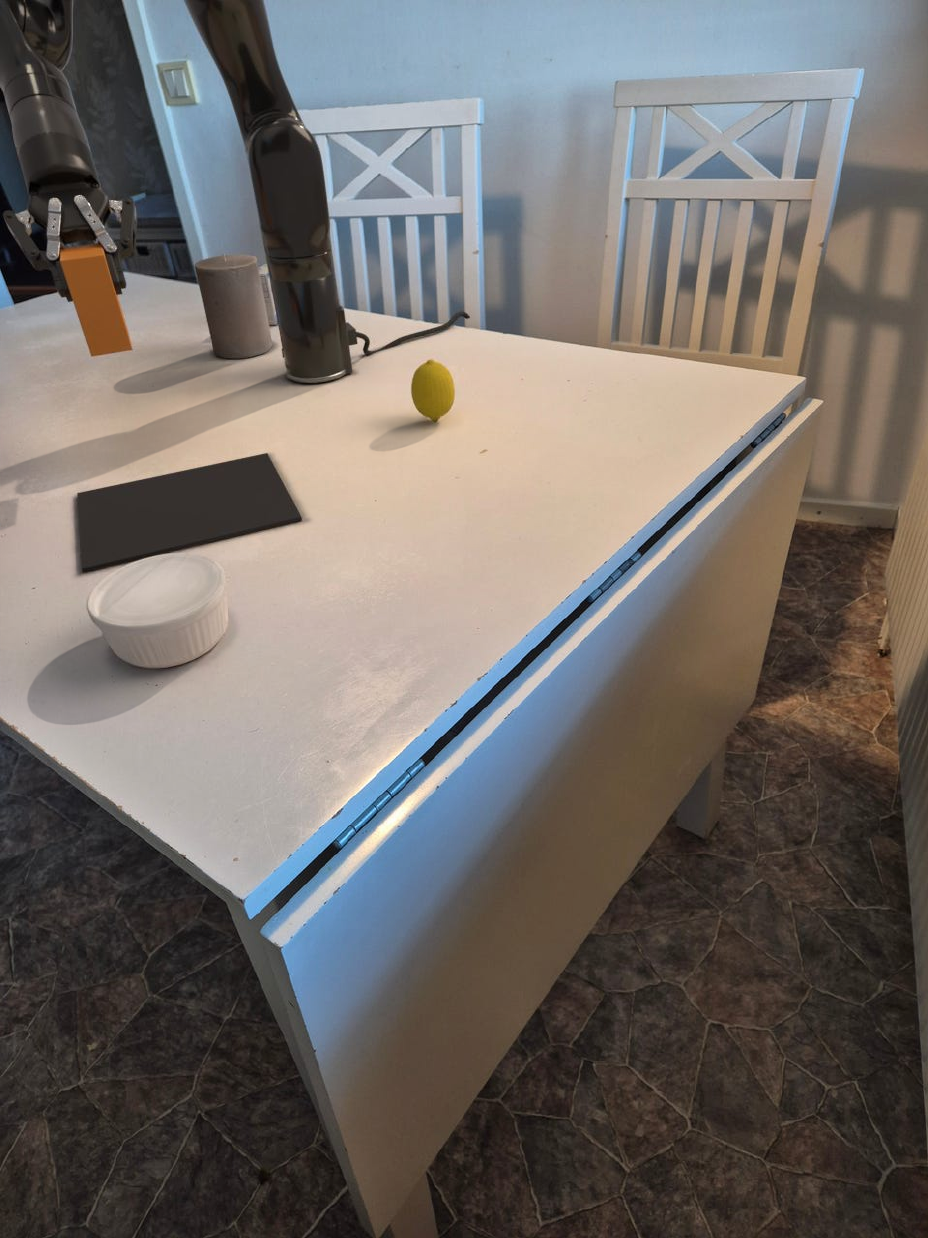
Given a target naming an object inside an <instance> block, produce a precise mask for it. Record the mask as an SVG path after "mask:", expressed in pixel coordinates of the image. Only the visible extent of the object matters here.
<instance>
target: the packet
mask: <svg viewBox="0 0 928 1238" xmlns="http://www.w3.org/2000/svg"><path fill="white" fill-rule="evenodd" d="M60 263H61V266H62V269H63V272H64V275H65V278H66V281H67V284H68V287H69V290H70V293H71V296H72V300H73V301H72V302H73V306H74V309H75V311H76V315H77V318H78V320H79V324H80V327H81V329H82V332H83V336H84V339H85V342H86V345H87V348H88V351H89V354H90V357H92V358H93V357H99V356H105V355H110V354H115V353H117V354H118V353H123V352H128V351H132V350H133V346H132V341H131V337H130V333H129V329H128V325H127V323H126V320H125V319H126V318H125V316H124V313H123V309H122V305H121V302H120V299H119V295H116V292H115V289H114V285H113V282H112V278H111V275H110V271H109V268H108V264H107V261H106V257H105V253H104V249H103V247H102V245H101V244H100V245H99V244H97V243H96V244H95V243H90V244H81V245H75V246H67V247H66V248H64V249H62V250H60Z"/></svg>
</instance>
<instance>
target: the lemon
mask: <svg viewBox="0 0 928 1238" xmlns="http://www.w3.org/2000/svg"><path fill="white" fill-rule="evenodd" d="M412 375H413V376H412V378H411V385H410V393H411V400H412V403H413V405H414V407H415V409H416V410H417V411H418V413H419V414H421V415H422V416H424V417H426V418H429V419H430V420H432V422H437V421H438V420H440V418H442V417H444V416H446V415H447V414H448V413H449V412H450V411H451V409H452V407H453V405H454V403H455V395H456V389H455V383H454V380H453V376H452V374H451V372H450V370H449V369H448V368H447V367H446V366H445V365H444V364H442V363H440V362H438V361H435V360H434V359H427V361H426V362H424V363H422V364H421V365H419V366H418V367H417V368H416V370H415V371H414V373H413V374H412Z"/></svg>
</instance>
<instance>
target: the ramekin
mask: <svg viewBox="0 0 928 1238" xmlns="http://www.w3.org/2000/svg"><path fill="white" fill-rule="evenodd" d="M227 590H228V579H227V575H226V572H225V570H224V568H223V566H222V565H221V564H220V563H219V562H218V561H216V560H214V559H213V558H211V557H209V556H204V555H201V554H197V553H189V552H169V553H164V554H160V555H155V556H151V557H147V558H143V559H139V560H134V561H132V562H130V563H128V564H126V565H124V566H122V567H120V568H118V569H116V570H114V571H112V572H111V573H109V574H108V575H106V576H105V577H103V579H101V580H100V581H99V582H98V583H96V585H95V586H94V587H93V588H92V590H91V591H90V592H89V594H88V596H87V600H86V610H87V611H86V612H87V613H88V614H87V615H88V616H89V618H90V620H91V622H92V623H93V624H94V625H95V626H96V627H97V628H98V629H99V631H100V632H101V634H102V635H103V637H104V638H105V640H106V641H107V643H108V644H109V647H110V648H111V649H112V651H113V652H114V653H115V655H116V656H117V657H118V658H119V659H121V660H122V661H124V662H126V663H128V664H130V665H133V666H136V667H139V668H144V669H165V668H166V669H167V668H170V667H171V668H172V667H176V666H180V665H183V664H186V663H189V662H191V661H193V660H195V659H198V658H199V657H201V656H203V655H204V654H207V653H208V652H209V651H211V650H212V649H213V648H214V647H215V646H216V645H217V644H218V643H219V642H220V641H221V639H222V637H223V636H224V635H225V632H226V631H227V628H228V624H229V609H228V598H227Z"/></svg>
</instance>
